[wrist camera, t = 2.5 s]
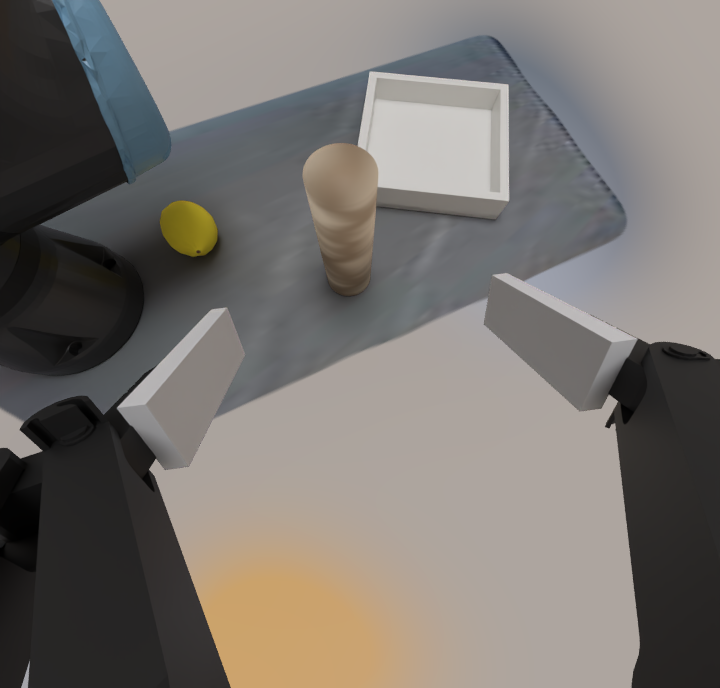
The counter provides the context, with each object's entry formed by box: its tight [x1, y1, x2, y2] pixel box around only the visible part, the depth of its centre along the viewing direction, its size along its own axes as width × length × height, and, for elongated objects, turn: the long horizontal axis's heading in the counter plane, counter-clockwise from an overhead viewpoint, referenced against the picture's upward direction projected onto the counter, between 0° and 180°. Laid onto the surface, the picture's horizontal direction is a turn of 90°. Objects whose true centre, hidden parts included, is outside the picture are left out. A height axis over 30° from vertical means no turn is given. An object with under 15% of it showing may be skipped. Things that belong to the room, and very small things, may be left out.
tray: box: [358, 72, 509, 219], centre depth 34 cm, size 18×18×3 cm
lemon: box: [160, 200, 218, 257], centre depth 30 cm, size 7×5×5 cm
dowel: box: [303, 143, 379, 296], centre depth 24 cm, size 5×5×14 cm
